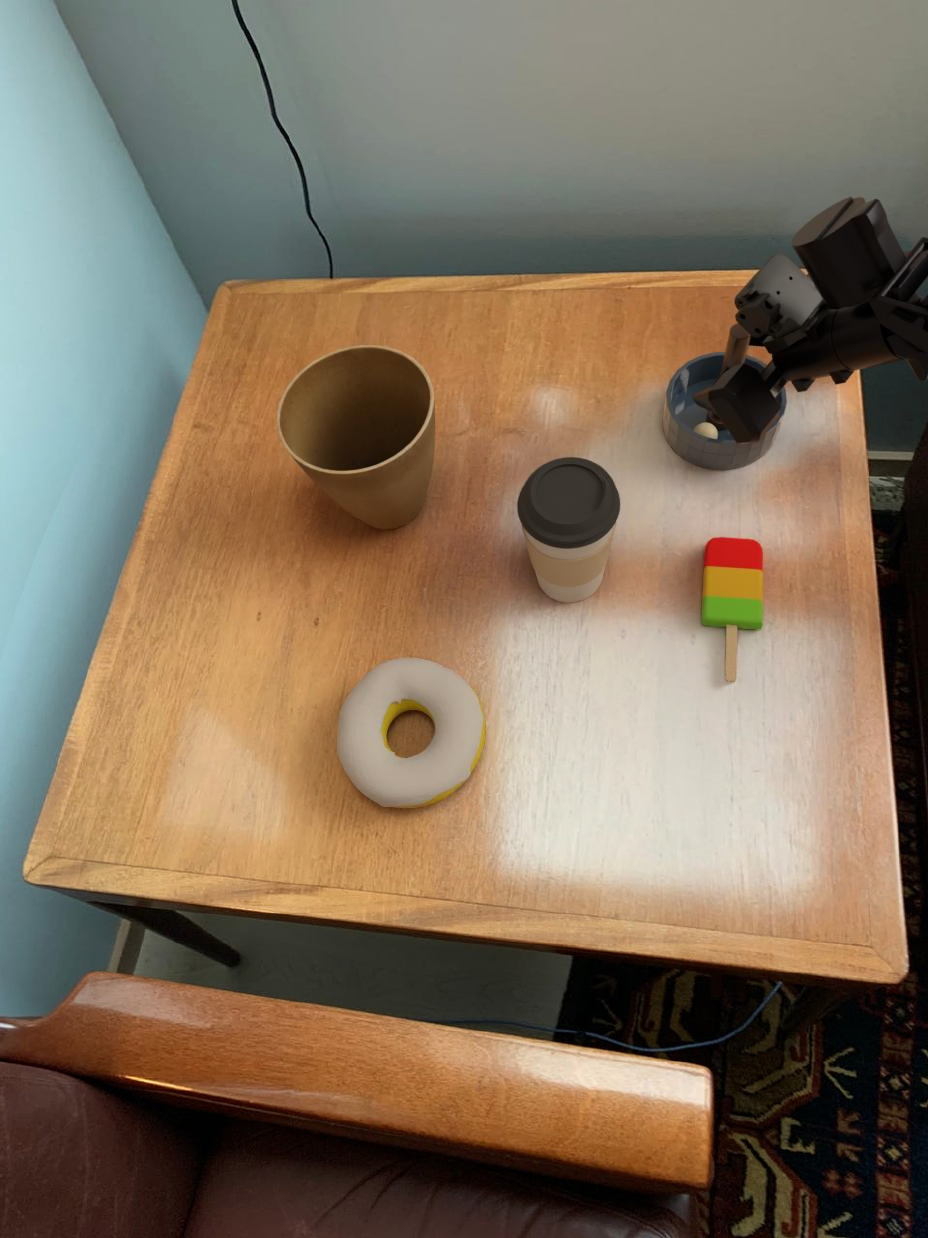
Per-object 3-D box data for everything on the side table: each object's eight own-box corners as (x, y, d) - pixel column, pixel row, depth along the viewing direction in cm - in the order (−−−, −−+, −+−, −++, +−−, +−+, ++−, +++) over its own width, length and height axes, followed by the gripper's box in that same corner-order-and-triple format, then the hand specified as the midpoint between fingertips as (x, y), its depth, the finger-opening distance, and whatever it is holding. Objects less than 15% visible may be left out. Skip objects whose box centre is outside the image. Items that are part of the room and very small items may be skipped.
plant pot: (411, 424, 98) (382, 319, 84) (482, 512, 92) (464, 416, 78) (298, 490, 96) (248, 394, 82) (363, 586, 90) (322, 500, 76)
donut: (444, 840, 77) (436, 828, 73) (315, 777, 81) (300, 762, 77) (511, 705, 82) (507, 686, 78) (386, 652, 86) (376, 630, 82)
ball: (703, 416, 91) (708, 417, 89) (719, 434, 92) (725, 435, 89) (684, 434, 92) (689, 436, 89) (700, 451, 92) (706, 454, 90)
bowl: (715, 362, 97) (721, 333, 93) (801, 423, 92) (811, 394, 88) (639, 424, 94) (642, 397, 90) (723, 489, 90) (730, 464, 86)
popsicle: (760, 547, 86) (764, 537, 85) (760, 687, 80) (763, 680, 78) (703, 543, 87) (705, 534, 86) (698, 682, 81) (701, 674, 79)
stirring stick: (740, 415, 92) (763, 326, 81) (726, 434, 92) (747, 347, 80) (715, 404, 94) (734, 314, 82) (700, 423, 93) (718, 335, 81)
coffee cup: (516, 604, 87) (505, 525, 73) (535, 528, 90) (527, 439, 77) (606, 619, 85) (611, 540, 71) (621, 540, 88) (629, 451, 75)
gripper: (867, 186, 72) (730, 244, 86) (746, 328, 67) (621, 366, 81) (924, 295, 77) (785, 334, 90) (813, 437, 72) (684, 456, 85)
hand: (720, 369), depth 87 cm, fingers open, 9 cm apart
